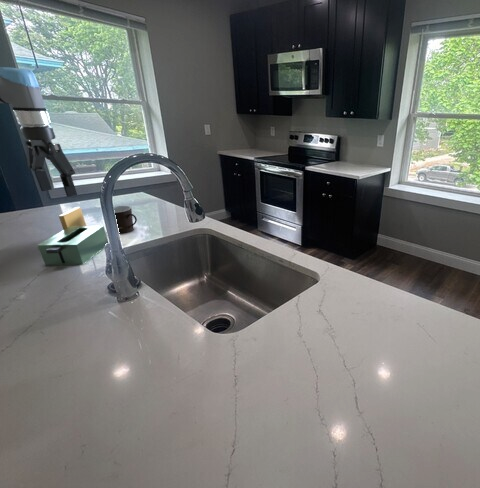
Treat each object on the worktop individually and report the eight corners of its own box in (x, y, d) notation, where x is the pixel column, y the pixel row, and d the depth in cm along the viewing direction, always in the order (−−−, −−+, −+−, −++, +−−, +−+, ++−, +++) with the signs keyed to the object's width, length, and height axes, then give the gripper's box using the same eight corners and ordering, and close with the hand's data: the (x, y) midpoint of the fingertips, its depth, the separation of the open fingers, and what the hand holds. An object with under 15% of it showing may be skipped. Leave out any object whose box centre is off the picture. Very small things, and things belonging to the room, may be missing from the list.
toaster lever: (47, 253, 91) (45, 250, 90) (52, 250, 93) (51, 246, 92) (57, 253, 91) (56, 249, 91) (63, 249, 93) (61, 246, 93)
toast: (68, 243, 110) (58, 215, 105) (84, 233, 119) (75, 207, 114) (73, 243, 110) (63, 215, 106) (88, 233, 119) (80, 206, 114)
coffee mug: (109, 231, 123) (102, 208, 118) (132, 226, 128) (127, 204, 124) (118, 240, 116) (111, 216, 111) (142, 234, 121) (136, 211, 117)
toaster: (46, 267, 95) (37, 245, 92) (77, 246, 110) (70, 226, 106) (83, 266, 97) (76, 244, 93) (109, 245, 111) (103, 225, 108)
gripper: (75, 127, 91) (95, 195, 100) (26, 122, 99) (49, 185, 108) (46, 129, 85) (70, 201, 94) (-3, 123, 93) (23, 190, 102)
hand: (59, 193), depth 101 cm, fingers open, 13 cm apart
